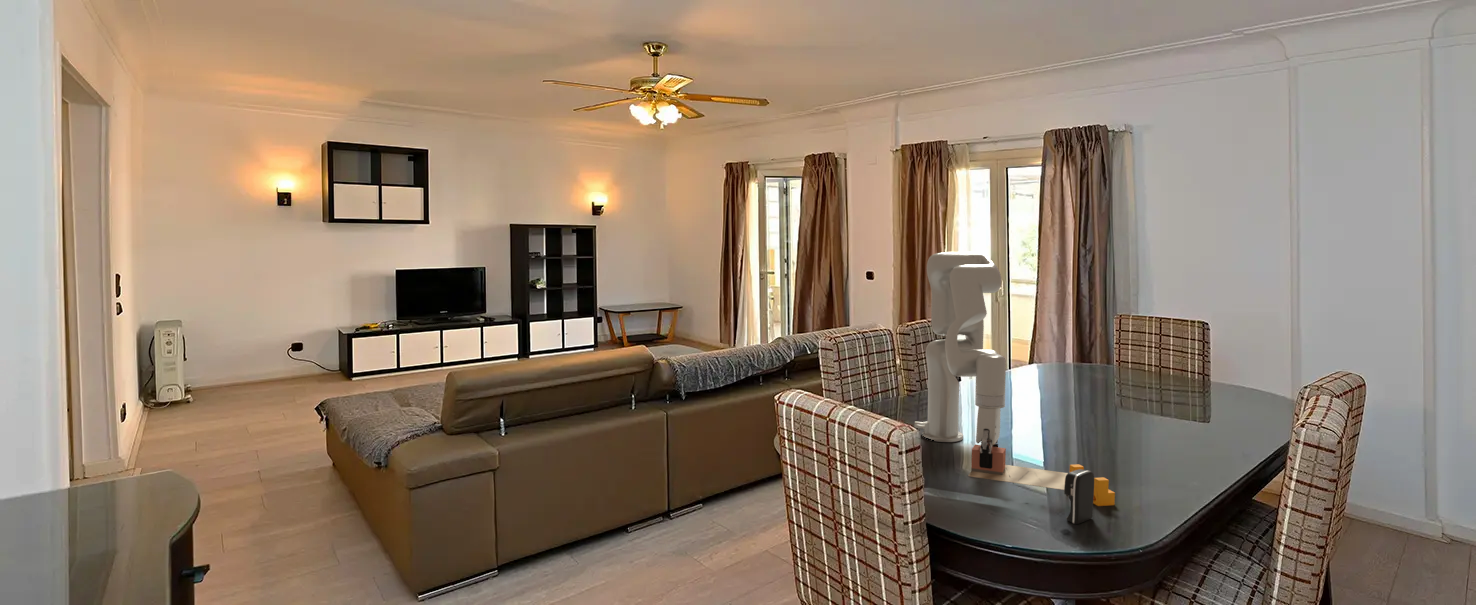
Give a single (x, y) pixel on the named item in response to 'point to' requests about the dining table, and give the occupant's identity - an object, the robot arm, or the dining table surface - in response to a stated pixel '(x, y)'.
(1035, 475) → the board
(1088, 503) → the battery charger
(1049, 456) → the dining table surface
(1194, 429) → the dining table surface
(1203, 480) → the dining table surface
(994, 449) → the block
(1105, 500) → the pipe clamp
